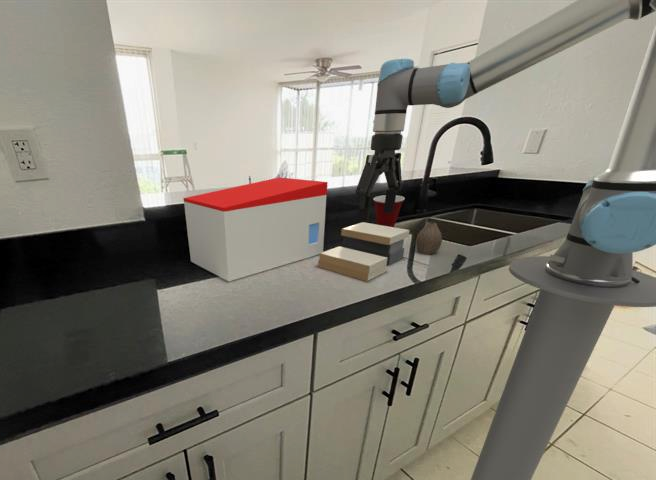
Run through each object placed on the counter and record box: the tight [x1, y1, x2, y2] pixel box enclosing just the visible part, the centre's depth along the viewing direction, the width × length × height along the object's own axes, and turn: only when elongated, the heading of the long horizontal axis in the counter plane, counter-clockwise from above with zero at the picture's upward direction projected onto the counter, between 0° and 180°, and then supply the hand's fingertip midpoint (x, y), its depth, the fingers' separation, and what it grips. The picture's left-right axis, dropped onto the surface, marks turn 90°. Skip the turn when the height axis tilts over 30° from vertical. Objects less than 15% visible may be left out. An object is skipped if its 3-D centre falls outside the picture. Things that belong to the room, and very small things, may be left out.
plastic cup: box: [372, 194, 406, 228], centre depth 125 cm, size 11×11×12 cm
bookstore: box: [183, 176, 328, 282], centre depth 97 cm, size 21×35×21 cm, turn 127°
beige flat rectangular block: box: [340, 221, 411, 245], centre depth 97 cm, size 15×11×2 cm
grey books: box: [342, 236, 405, 266], centre depth 98 cm, size 15×9×6 cm, turn 42°
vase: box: [415, 222, 443, 255], centre depth 99 cm, size 7×7×9 cm
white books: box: [317, 245, 388, 282], centre depth 89 cm, size 15×9×4 cm, turn 42°
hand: (376, 216), depth 95 cm, fingers open, 13 cm apart
